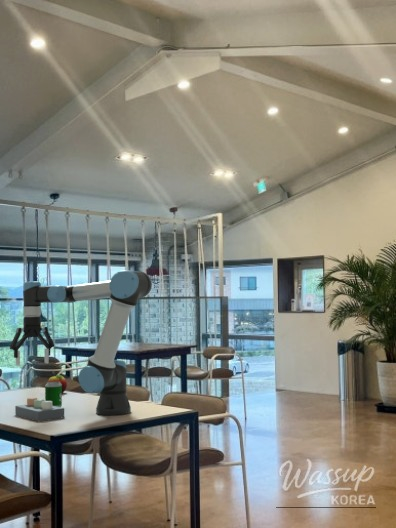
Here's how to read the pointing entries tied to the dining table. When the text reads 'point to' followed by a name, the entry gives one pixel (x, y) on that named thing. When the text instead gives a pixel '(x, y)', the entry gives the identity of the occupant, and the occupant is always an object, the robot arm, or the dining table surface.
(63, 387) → the fruit
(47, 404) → the white egg
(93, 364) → the robot arm
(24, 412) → the grey egg holder
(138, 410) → the dining table surface
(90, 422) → the dining table surface
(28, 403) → the brown egg
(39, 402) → the pale green egg
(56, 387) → the soda can
